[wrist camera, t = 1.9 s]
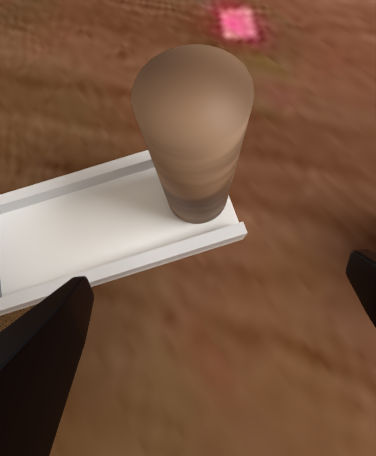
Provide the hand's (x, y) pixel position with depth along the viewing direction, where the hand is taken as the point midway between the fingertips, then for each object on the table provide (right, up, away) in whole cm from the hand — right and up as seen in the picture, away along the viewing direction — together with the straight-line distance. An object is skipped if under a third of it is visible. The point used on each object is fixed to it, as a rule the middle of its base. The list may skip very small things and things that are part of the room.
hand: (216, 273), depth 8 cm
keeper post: (0, +5, +14) cm, 15 cm away
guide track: (-9, +2, +15) cm, 17 cm away
